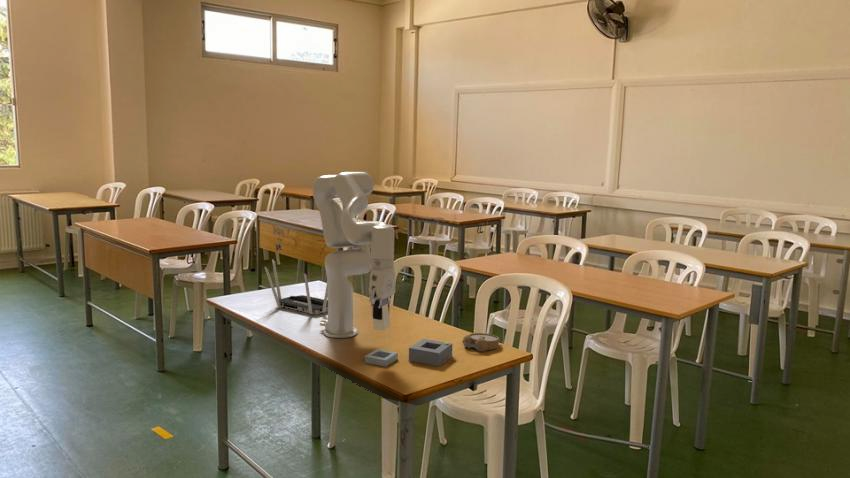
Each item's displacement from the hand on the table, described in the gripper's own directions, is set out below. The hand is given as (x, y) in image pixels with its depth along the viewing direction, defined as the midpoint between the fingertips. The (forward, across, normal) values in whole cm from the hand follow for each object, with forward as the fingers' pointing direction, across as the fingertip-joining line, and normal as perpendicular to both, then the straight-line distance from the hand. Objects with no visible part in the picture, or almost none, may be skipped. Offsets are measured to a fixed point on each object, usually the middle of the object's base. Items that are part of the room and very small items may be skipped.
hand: (381, 316), depth 208 cm
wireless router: (+17, +38, +59) cm, 72 cm away
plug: (+4, 0, 0) cm, 4 cm away
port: (+15, +10, -14) cm, 23 cm away
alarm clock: (+15, +29, -25) cm, 41 cm away
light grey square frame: (+15, 0, -1) cm, 15 cm away
